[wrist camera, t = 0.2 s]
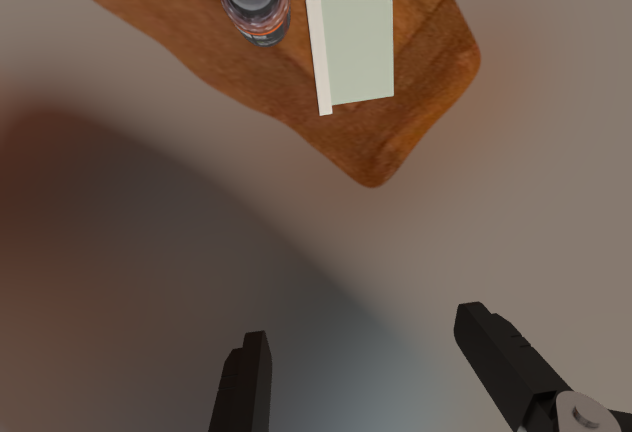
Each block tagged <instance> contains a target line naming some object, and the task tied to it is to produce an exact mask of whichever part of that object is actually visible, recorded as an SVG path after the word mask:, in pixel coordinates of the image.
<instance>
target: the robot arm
mask: <svg viewBox="0 0 632 432" xmlns="http://www.w3.org/2000/svg"><path fill="white" fill-rule="evenodd" d="M454 337H455V340H456V342H457V344H458V346H459V347H460V349H461V351H462V352H463V354H464V356H465V357H466V359H467V360H468V362H469V363H470V365H471V367H472V368H473V369H474V371H475V373H476V374H477V376H478V378H479V379H480V381H481V382H482V384H483V385H484V387H485V388H486V390H487V392H488V393H489V395H490V396H491V398H492V399H493V401H494V402H495V404H496V406H497V407H498V409H499V410H500V412H501V413H502V415H503V417H504V418H505V420H506V421H507V423H508V424H509V426H510V428H511V429H512V431H513V432H632V414H630V413H625V412H619V411H613V410H609V409H606V408H605V407H604V406H602V405H601V404H600V403H599V402H597V401H595V400H594V399H592V398H590V397H588V396H586V395H584V394H581V393H578V392H575V391H573V390H572V389H571V388H570V387H569V386H568V385H567V384H566V383H565V381H564V380H562V378H560V376H559V375H558V374H557V373H556V372H555V371H554V370H553V368H552V367H551V366H550V365H549V364H548V363H547V362H546V361H545V360H544V359H543V357H542V356H541V355H540V354H539V353H538V352H537V351H536V350H535V349H534V348H533V347H531V344H530V343H529V342H528V341H527V340H526V339H525V338H524V337H522V335H521V334H520V332H519V331H517V329H516V328H515V327H514V326H513V325H512V324H511V323H510V322H509V321H507V320H506V319H504V318H503V317H501V316H500V315H498V314H497V313H495V314H491V313H490V312H489V311H488V310H487V308H486V307H485V306H484V305H483V304H482V303H480V302H472V303H463V304H459V306H458V309H457V314H456V319H455V325H454ZM271 383H272V355H271V351H270V347H269V343H268V340H267V336H266V332H265V331H264V330H262V331H255V332H248V333H246V334H245V337H244V342H243V347H242V348H238V349H233V350H232V351H231V353H230V354H229V356H228V358H227V359H226V361H225V363H224V367H223V372H222V376H221V380H220V384H219V388H218V389H219V391H218V393H217V397H216V401H215V405H214V409H213V413H212V418H211V422H210V426H209V430H208V432H269V416H270V401H271Z"/></svg>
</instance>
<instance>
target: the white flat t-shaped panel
mask: <svg viewBox="0 0 632 432" xmlns="http://www.w3.org/2000/svg"><path fill="white" fill-rule="evenodd" d="M306 8H307V16H308V25H309V33H310V41H311V49H312V57H313V65H314V74H315V82H316V90H317V98H318V106H319V114H320V116H321V115H327V114H332V105H336V104H343V103H349V102H356V101H363V100H369V99H376V98H382V97H389V96H394V80H393V10H392V0H306Z"/></svg>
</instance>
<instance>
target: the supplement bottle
mask: <svg viewBox="0 0 632 432" xmlns="http://www.w3.org/2000/svg"><path fill="white" fill-rule="evenodd" d="M221 3H222V6H223V8H224V10H225V12H226V13H227V15H228V16H229V18H230V19H231V20H232V22H233V23H234V24H235V25H236V27H237V28H238V29H239V31H240V32H241V33H242V34H243V36H244V37H245V38H246V39H247V40H248V41H250V42H251V43H253V44H254V45H256V46H260V47H271V46H274V45H276V44H278V43H279V42H280V41H281V40H282V39H283V38H284V37H285V35H286V33H287V31H288V28H289V25H290V0H221Z"/></svg>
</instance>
